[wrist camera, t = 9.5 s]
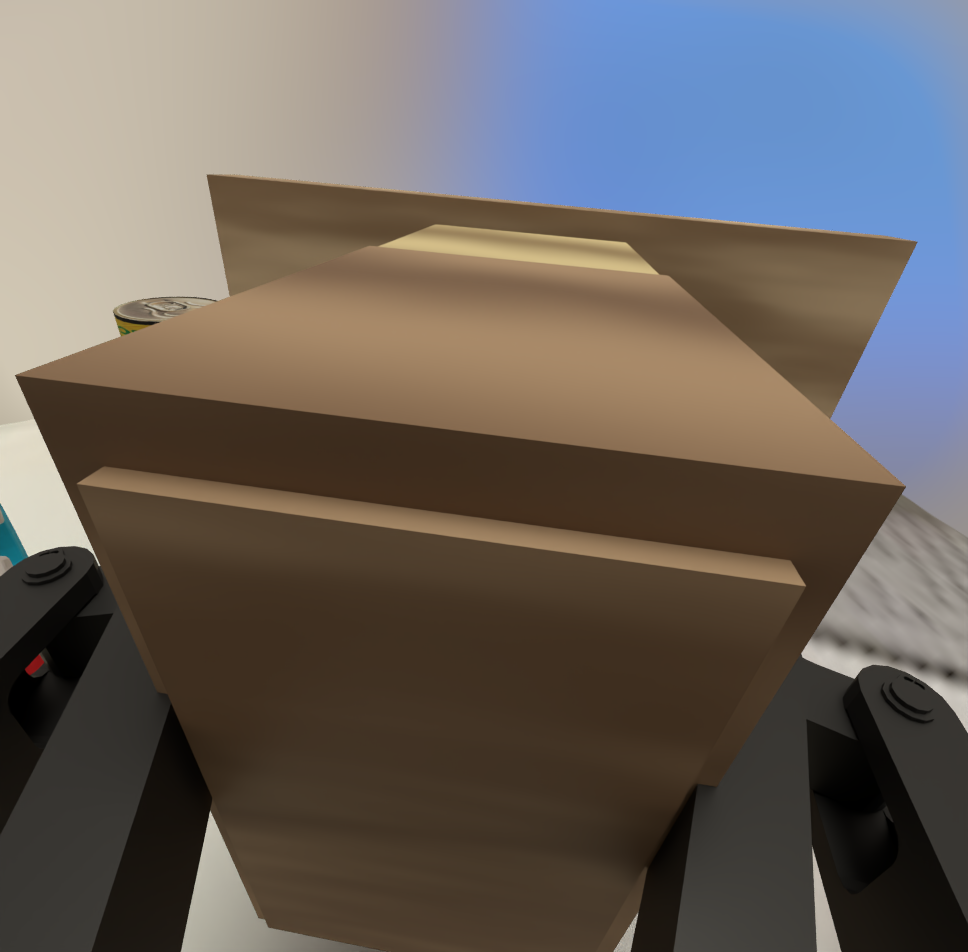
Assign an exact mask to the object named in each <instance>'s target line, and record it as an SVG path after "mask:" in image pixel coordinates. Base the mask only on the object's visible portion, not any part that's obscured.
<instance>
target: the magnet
mask: <svg viewBox="0 0 968 952" xmlns="http://www.w3.org/2000/svg"><path fill="white" fill-rule="evenodd" d="M25 558H28V555H27V553H26V551H25V549H24V547H23V545H22V543H21V541H20V539H19V537H18V536H17V534H16V532H15V530H14V528H13V526H12V524H11V522H10V520H9V518H8V517H7V515H6V513H5V511H4V509H3V507H2V506H1V504H0V576H1V575H3V574H4V573H5V572H6V571H7V570H9V569H10V568H11V567H13V566H14V565H16V564H17V563H19V562H20V561H22V560H23V559H25ZM43 663H44V661H43V659H42V658H41V656H40V654H39V655H38V656H37V657H36V658H35V659H34V660H33V661H32V662H31V663H30V665H29V666H28V667H27V668H26V669H25V670H26V672H27V673H28V674H29V675H31V674H32V673H34V672H35V671H36V670H38V669H39V668H40V667H41V665H42V664H43Z"/></svg>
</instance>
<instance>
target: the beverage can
mask: <svg viewBox="0 0 968 952" xmlns="http://www.w3.org/2000/svg"><path fill="white" fill-rule="evenodd" d="M214 302H217V301H216V300H211V299H206V298H197V297H161V298H150V299H142V300H137V301H132V302H128V303H125V304H122V305H119V306H118V307H116V308H115V309H114V310H113V313H114V316H115V319H116V322H117V325H118V328H119V332H120V335H121V336H124V335H127V334H129V333H132V332H135V331H138V330H140V329H143V328H146V327H148V326H151V325H154V324H157V323H159V322H162V321H165V320H168V319H170V318H173V317H176V316H179V315H181V314H184V313H187V312H190V311H192V310H195V309H198V308H201V307H203V306H206V305H209V304H212V303H214Z"/></svg>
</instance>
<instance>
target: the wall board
mask: <svg viewBox="0 0 968 952" xmlns="http://www.w3.org/2000/svg"><path fill="white" fill-rule="evenodd" d="M207 179H208V184H209V189H210V194H211V200H212V205H213V210H214V216H215V221H216V226H217V232H218V237H219V242H220V247H221V253H222V258H223V263H224V268H225V274H226V279H227V284H228V290H229V295H230V297H231V296H233V295H236V294H239V293H242V292H244V291H247V290H250V289H253V288H255V287H258V286H261V285H264V284H266V283H269V282H272V281H275V280H277V279H280V278H283V277H285V276H288V275H291V274H294V273H296V272H299V271H302V270H305V269H307V268H310V267H313V266H316V265H318V264H321V263H324V262H327V261H329V260H332V259H335V258H338V257H340V256H343V255H346V254H348V253H351V252H354V251H357V250H359V249H362V248H365V247H368V246H377V247H378V246H381V245H383V244H386V243H388V242H391V241H394V240H396V239H399V238H401V237H404V236H407V235H409V234H412V233H414V232H417V231H420V230H422V229H425V228H427V227H430V226H432V225H435V224H437V225H448V226H458V227H469V228H479V229H490V230H500V231H511V232H521V233H531V234H542V235H552V236H563V237H573V238H584V239H594V240H605V241H615V242H626V243H627V244H628V245H629V246H630V247H631V248H632V249H633V250H634V251H635V252H636V253H638V254H639V255H640V256H641V257H642V258H643V259H644V260H645V261H646V262H647V263H648V264H649V265H650V266H651V267H652V268H653V269H654V270H655V271H656V272H657V273H658V274H659V275H667V276H670V277H671V278H672V279H673V280H674V281H675V282H676V283H677V284H679V285H680V286H681V287H682V288H683V289H684V290H685V291H686V292H688V293H689V294H690V295H691V296H692V297H693V298H694V299H695V300H697V301H698V302H699V303H700V304H701V305H702V306H703V307H704V308H706V309H707V310H708V311H709V312H710V313H711V314H712V315H713V316H715V317H716V318H717V319H718V320H719V321H720V322H721V323H722V324H724V325H725V326H726V327H727V328H728V329H729V330H730V331H731V332H733V333H734V334H735V335H736V336H737V337H738V338H739V339H740V340H742V341H743V342H744V343H745V344H746V345H747V346H748V347H749V348H751V349H752V350H753V351H754V352H755V353H756V354H757V355H758V356H760V357H761V358H762V359H763V360H764V361H765V362H766V363H767V364H769V365H770V366H771V367H772V368H773V369H774V370H775V371H776V372H778V373H779V374H780V375H781V376H782V377H783V378H784V379H785V380H787V381H788V382H789V383H790V384H791V385H792V386H793V387H794V388H796V389H797V390H798V391H799V392H800V393H801V394H802V395H803V396H805V397H806V398H807V399H808V400H809V401H810V402H811V403H812V404H814V405H815V406H816V407H817V408H818V409H819V410H820V411H821V412H823V413H824V414H825V415H826V416H827V417H828V418H829V419H830V418H831V416H832V414H833V412H834V410H835V408H836V406H837V404H838V402H839V400H840V398H841V396H842V394H843V392H844V390H845V388H846V386H847V384H848V382H849V380H850V378H851V376H852V373H853V372H854V370H855V368H856V366H857V364H858V361H859V360H860V358H861V356H862V354H863V351H864V349H865V347H866V345H867V343H868V341H869V339H870V337H871V335H872V333H873V331H874V329H875V327H876V325H877V323H878V321H879V319H880V317H881V315H882V313H883V311H884V309H885V307H886V305H887V303H888V301H889V299H890V297H891V295H892V293H893V290H894V289H895V287H896V285H897V283H898V281H899V279H900V276H901V275H902V272H903V270H904V268H905V266H906V264H907V262H908V260H909V258H910V256H911V254H912V252H913V250H914V248H915V246H916V244H917V242H916V241H911V240H905V239H900V238H894V237H888V236H881V235H870V234H860V233H849V232H839V231H828V230H818V229H807V228H796V227H786V226H775V225H765V224H754V223H743V222H733V221H722V220H711V219H701V218H690V217H680V216H669V215H658V214H648V213H636V212H626V211H616V210H605V209H595V208H583V207H573V206H563V205H552V204H542V203H531V202H520V201H509V200H499V199H488V198H478V197H466V196H456V195H446V194H435V193H424V192H414V191H404V190H392V189H382V188H372V187H361V186H350V185H340V184H328V183H318V182H308V181H297V180H286V179H276V178H265V177H254V176H243V175H207Z"/></svg>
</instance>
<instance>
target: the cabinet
mask: <svg viewBox="0 0 968 952" xmlns="http://www.w3.org/2000/svg"><path fill="white" fill-rule="evenodd" d="M15 376H16V379H17V381H18V383H19V385H20V387H21V390H22V392H23V394H24V396H25V398H26V401H27V403H28V405H29V407H30V410H31V412H32V414H33V416H34V419H35V421H36V423H37V425H38V428H39V430H40V432H41V434H42V436H43V439H44V441H45V443H46V445H47V448H48V450H49V452H50V454H51V457H52V459H53V461H54V463H55V465H56V468H57V470H58V472H59V474H60V477H61V479H62V481H63V483H64V485H65V488H66V490H67V492H68V494H69V497H70V499H71V501H72V503H73V506H74V508H75V510H76V512H77V514H78V517H79V519H80V521H81V523H82V526H83V528H84V530H85V532H86V534H87V537H88V539H89V541H90V543H91V546H92V548H93V550H94V552H95V555H96V557H97V559H98V561H99V563H100V566H101V568H102V570H103V572H104V575H105V577H106V579H107V581H108V583H109V586H110V588H111V590H112V592H113V595H114V597H115V599H116V601H117V604H118V606H119V608H120V610H121V612H122V615H123V617H124V619H125V621H126V624H127V626H128V628H129V630H130V632H131V635H132V637H133V639H134V641H135V644H136V646H137V648H138V650H139V653H140V655H141V657H142V659H143V661H144V664H145V666H146V668H147V670H148V673H149V675H150V677H151V679H152V681H153V684H154V686H155V688H156V690H157V692H159V693H165V694H168V696H169V699H170V701H171V703H172V706H173V708H174V710H175V713H176V715H177V717H178V720H179V722H180V724H181V726H182V729H183V731H184V733H185V736H186V738H187V740H188V743H189V745H190V747H191V750H192V752H193V754H194V757H195V759H196V761H197V763H198V766H199V768H200V770H201V773H202V775H203V777H204V780H205V782H206V784H207V787H208V789H209V791H210V793H211V796H212V798H213V799H212V804H211V809H210V811H211V813H212V815H213V817H214V820H215V822H216V824H217V826H218V828H219V831H220V833H221V835H222V837H223V840H224V842H225V844H226V846H227V849H228V851H229V853H230V855H231V857H232V860H233V862H234V864H235V866H236V869H237V871H238V873H239V875H240V877H241V880H242V882H243V884H244V886H245V889H246V891H247V893H248V895H249V897H250V900H251V902H252V904H253V906H254V909H255V911H256V913H257V915H258V918H260V919H265V921H266V923H267V925H268V927H269V928H274V929H279V930H284V931H288V932H293V933H298V934H303V935H308V936H313V937H318V938H323V939H328V940H333V941H338V942H343V943H348V944H353V945H358V946H363V947H368V948H373V949H378V950H382V951H387V952H613V951H614V949H615V948H616V946H617V945H618V943H619V941H620V940H621V938H622V937H623V935H624V934H625V932H626V930H627V929H628V927H629V926H630V924H631V922H632V921H633V919H634V918H635V916H636V915H637V913H638V911H639V908H640V903H641V898H642V893H643V888H644V883H645V878H646V873H647V869H648V868H649V866H650V864H651V862H652V861H653V859H654V857H655V856H656V854H657V852H658V851H659V849H660V847H661V845H662V844H663V842H664V840H665V839H666V837H667V835H668V834H669V832H670V830H671V828H672V827H673V825H674V823H675V822H676V820H677V818H678V817H679V815H680V813H681V811H682V810H683V808H684V806H685V805H686V803H687V801H688V800H689V798H690V796H691V794H692V793H693V791H694V789H695V788H696V786H697V784H702V785H708V786H714V787H717V786H718V784H719V783H720V781H721V780H722V778H723V776H724V775H725V773H726V772H727V770H728V769H729V767H730V765H731V764H732V762H733V761H734V759H735V757H736V756H737V754H738V753H739V751H740V749H741V748H742V746H743V745H744V743H745V742H746V740H747V738H748V737H749V735H750V734H751V732H752V730H753V729H754V727H755V726H756V724H757V723H758V721H759V719H760V718H761V716H762V715H763V713H764V711H765V710H766V708H767V707H768V705H769V703H770V702H771V700H772V699H773V697H774V696H775V694H776V692H777V691H778V689H779V688H780V686H781V684H782V683H783V681H784V680H785V678H786V676H787V675H788V673H789V672H790V670H791V669H792V667H793V665H794V664H795V662H796V661H797V659H798V657H799V656H800V654H801V653H802V651H803V650H804V648H805V646H806V645H807V643H808V642H809V640H810V638H811V637H812V635H813V634H814V632H815V630H816V629H817V627H818V626H819V624H820V623H821V621H822V619H823V618H824V616H825V615H826V613H827V611H828V610H829V608H830V607H831V605H832V604H833V602H834V600H835V599H836V597H837V596H838V594H839V592H840V591H841V589H842V588H843V586H844V584H845V583H846V581H847V580H848V578H849V577H850V575H851V573H852V572H853V570H854V569H855V567H856V565H857V564H858V562H859V561H860V559H861V557H862V556H863V554H864V553H865V551H866V550H867V548H868V546H869V545H870V543H871V542H872V540H873V538H874V537H875V535H876V534H877V532H878V531H879V529H880V527H881V526H882V524H883V523H884V521H885V519H886V518H887V516H888V515H889V513H890V511H891V510H892V508H893V507H894V505H895V504H896V502H897V500H898V499H899V497H900V496H901V494H902V492H903V491H904V489H905V488H906V486H905V485H904V484H902V483H901V482H900V481H899V480H898V479H897V478H896V477H895V476H893V475H892V474H891V473H890V472H889V471H888V470H887V469H885V468H884V467H883V466H882V465H881V464H880V463H879V462H877V460H875V459H874V458H873V457H872V456H871V455H870V454H869V453H868V452H866V451H865V450H864V449H863V448H862V447H861V446H860V445H859V444H857V443H856V442H855V441H854V440H853V439H852V438H851V437H850V436H848V435H847V434H846V433H845V432H844V431H843V430H842V429H841V428H839V427H838V426H837V425H836V424H835V423H834V422H833V421H832V420H830V419H829V418H828V417H827V416H826V415H825V414H824V413H823V412H821V411H820V410H819V409H818V408H817V407H816V406H815V405H814V404H812V403H811V402H810V401H809V400H808V399H807V398H806V397H805V396H803V395H802V394H801V393H800V392H799V391H798V390H797V389H796V388H794V387H793V386H792V385H791V384H790V383H789V382H788V381H787V380H785V379H784V378H783V377H782V376H781V375H780V374H779V373H778V372H776V371H775V370H774V369H773V368H772V367H771V366H770V365H769V364H767V363H766V362H765V361H764V360H763V359H762V358H761V357H760V356H758V355H757V354H756V353H755V352H754V351H753V350H752V349H751V348H749V347H748V346H747V345H746V344H745V343H744V342H743V341H742V340H740V339H739V338H738V337H737V336H736V335H735V334H734V333H733V332H731V331H730V330H729V329H728V328H727V327H726V326H725V325H724V324H722V323H721V322H720V321H719V320H718V319H717V318H716V317H715V316H713V315H712V314H711V313H710V312H709V311H708V310H707V309H706V308H704V307H703V306H702V305H701V304H700V303H699V302H698V301H697V300H695V299H694V298H693V297H692V296H691V295H690V294H689V293H688V292H686V291H685V290H684V289H683V288H682V287H681V286H680V285H679V284H677V283H676V282H675V281H674V280H673V279H672V278H671V277H670V276H667V275H659V274H658V273H657V272H656V271H655V270H654V269H653V268H652V267H651V266H650V265H649V264H648V263H647V262H646V261H645V260H644V259H643V258H642V257H641V256H640V255H639V254H638V253H636V252H635V251H634V250H633V249H632V248H631V247H630V246H629V245H628V244H627V243H626V242H615V241H605V240H594V239H584V238H573V237H563V236H552V235H542V234H531V233H521V232H511V231H500V230H490V229H479V228H469V227H458V226H448V225H437V224H435V225H432V226H430V227H427V228H425V229H422V230H420V231H417V232H414V233H412V234H409V235H407V236H404V237H401V238H399V239H396V240H394V241H391V242H388V243H386V244H383V245H381V246H378V247H377V246H368V247H365V248H362V249H359V250H357V251H354V252H351V253H348V254H346V255H343V256H340V257H338V258H335V259H332V260H329V261H327V262H324V263H321V264H318V265H316V266H313V267H310V268H307V269H305V270H302V271H299V272H296V273H294V274H291V275H288V276H285V277H283V278H280V279H277V280H275V281H272V282H269V283H266V284H264V285H261V286H258V287H255V288H253V289H250V290H247V291H244V292H242V293H239V294H236V295H233V296H231V297H228V298H225V299H222V300H220V301H217V302H214V303H212V304H209V305H206V306H203V307H201V308H198V309H195V310H192V311H190V312H187V313H184V314H181V315H179V316H176V317H173V318H170V319H168V320H165V321H162V322H159V323H157V324H154V325H151V326H148V327H146V328H143V329H140V330H138V331H135V332H132V333H129V334H127V335H124V336H121V337H119V338H116V339H113V340H110V341H107V342H105V343H102V344H99V345H96V346H94V347H91V348H88V349H85V350H83V351H80V352H78V353H75V354H72V355H69V356H66V357H64V358H61V359H58V360H56V361H53V362H50V363H48V364H44V365H42V366H39V367H36V368H33V369H31V370H28V371H25V372H23V373H20V374H17V375H15Z"/></svg>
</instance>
